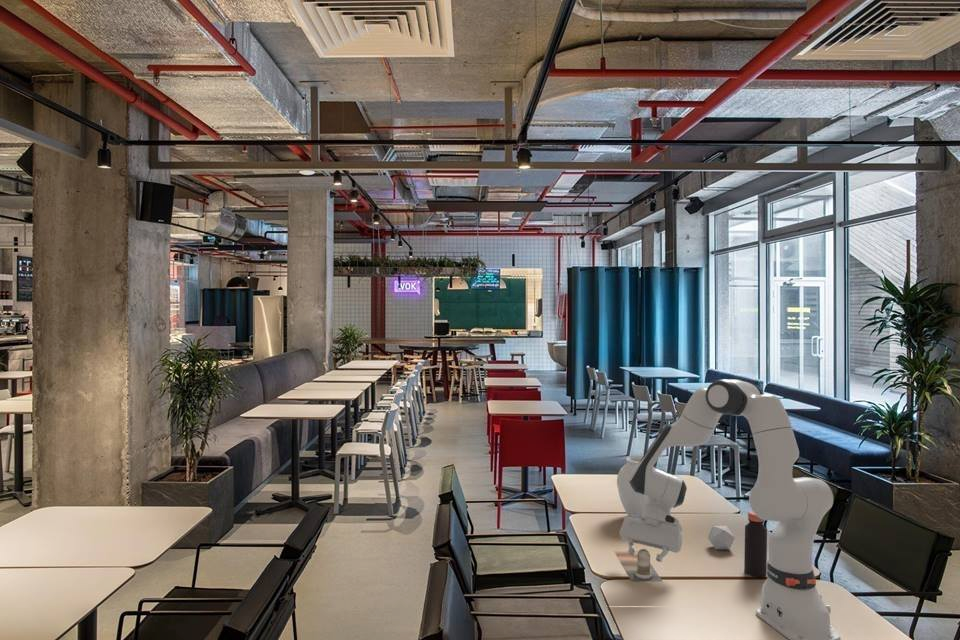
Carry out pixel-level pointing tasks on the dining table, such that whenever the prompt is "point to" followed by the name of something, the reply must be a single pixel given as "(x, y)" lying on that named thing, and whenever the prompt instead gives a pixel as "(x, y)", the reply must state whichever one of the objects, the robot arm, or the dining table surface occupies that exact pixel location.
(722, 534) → the die
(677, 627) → the dining table surface
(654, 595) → the dining table surface
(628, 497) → the vase
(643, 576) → the pawn
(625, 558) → the game board
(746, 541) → the bottle
